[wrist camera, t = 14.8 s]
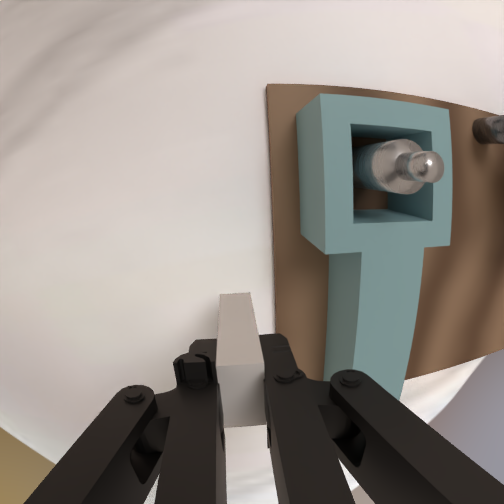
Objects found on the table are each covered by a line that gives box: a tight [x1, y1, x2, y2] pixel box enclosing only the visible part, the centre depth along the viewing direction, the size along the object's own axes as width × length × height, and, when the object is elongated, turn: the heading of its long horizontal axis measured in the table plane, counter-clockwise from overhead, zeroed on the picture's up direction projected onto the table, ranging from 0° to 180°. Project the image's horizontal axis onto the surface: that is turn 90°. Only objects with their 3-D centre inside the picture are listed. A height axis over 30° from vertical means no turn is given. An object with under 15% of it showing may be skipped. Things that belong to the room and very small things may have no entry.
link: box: [296, 93, 452, 401], centre depth 17 cm, size 18×7×5 cm, turn 3°
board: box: [266, 84, 504, 381], centre depth 20 cm, size 24×21×1 cm
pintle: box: [352, 139, 444, 194], centre depth 14 cm, size 2×2×9 cm
